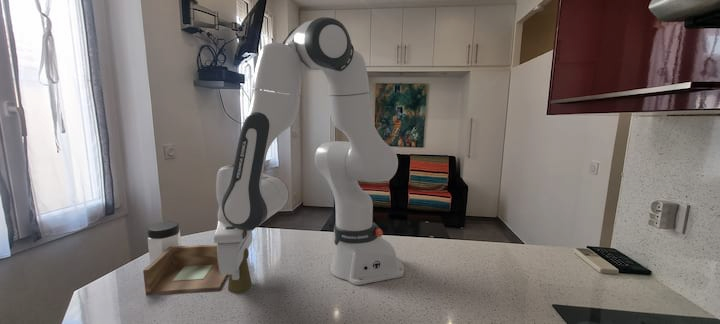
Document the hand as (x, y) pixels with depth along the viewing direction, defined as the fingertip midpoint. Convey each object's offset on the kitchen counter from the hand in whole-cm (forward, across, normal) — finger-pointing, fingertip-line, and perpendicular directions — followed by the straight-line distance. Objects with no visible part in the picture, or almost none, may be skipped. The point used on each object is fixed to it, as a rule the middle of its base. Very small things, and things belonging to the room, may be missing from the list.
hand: (239, 272), depth 81 cm
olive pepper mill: (+4, 0, 0) cm, 4 cm away
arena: (+4, -6, -14) cm, 16 cm away
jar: (+4, -17, -26) cm, 31 cm away
